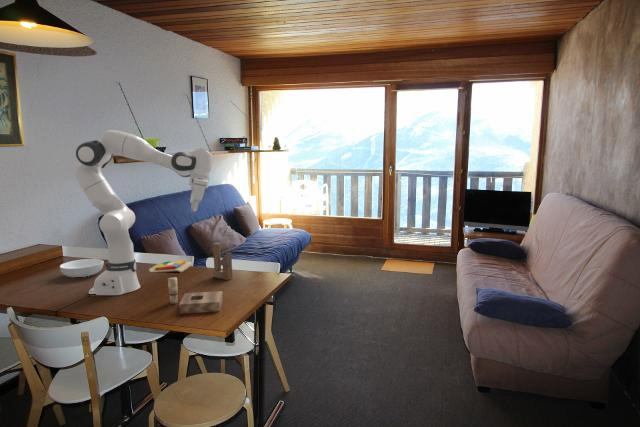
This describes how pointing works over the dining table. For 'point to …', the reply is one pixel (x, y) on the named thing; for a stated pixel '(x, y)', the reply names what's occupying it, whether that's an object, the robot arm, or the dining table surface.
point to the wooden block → (222, 264)
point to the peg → (173, 290)
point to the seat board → (201, 302)
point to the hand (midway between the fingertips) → (193, 211)
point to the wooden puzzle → (171, 266)
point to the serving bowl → (82, 267)
